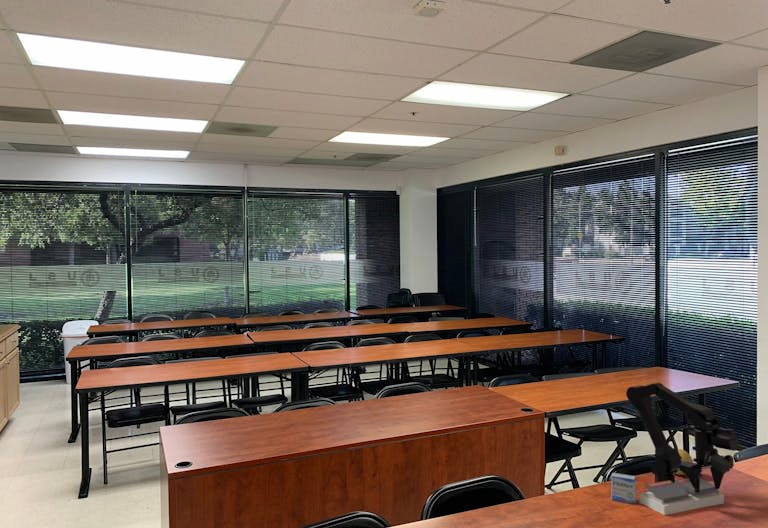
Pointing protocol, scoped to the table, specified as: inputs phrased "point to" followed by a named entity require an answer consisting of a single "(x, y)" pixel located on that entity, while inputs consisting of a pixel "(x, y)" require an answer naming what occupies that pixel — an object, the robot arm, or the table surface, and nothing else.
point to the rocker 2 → (688, 486)
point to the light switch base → (681, 501)
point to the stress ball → (684, 459)
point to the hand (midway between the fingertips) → (707, 490)
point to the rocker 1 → (666, 491)
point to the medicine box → (623, 488)
